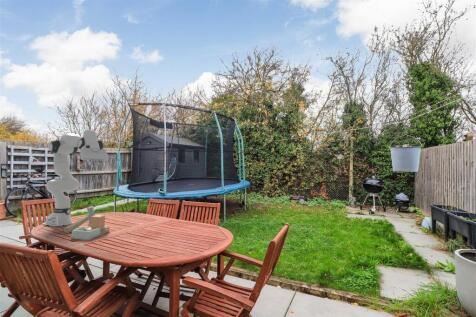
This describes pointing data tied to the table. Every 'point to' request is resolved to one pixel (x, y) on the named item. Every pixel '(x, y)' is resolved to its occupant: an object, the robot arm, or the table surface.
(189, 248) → the table surface
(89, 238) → the box
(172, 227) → the table surface
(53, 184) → the robot arm
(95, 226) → the block
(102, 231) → the board
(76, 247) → the table surface
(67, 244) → the table surface
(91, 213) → the hammer
